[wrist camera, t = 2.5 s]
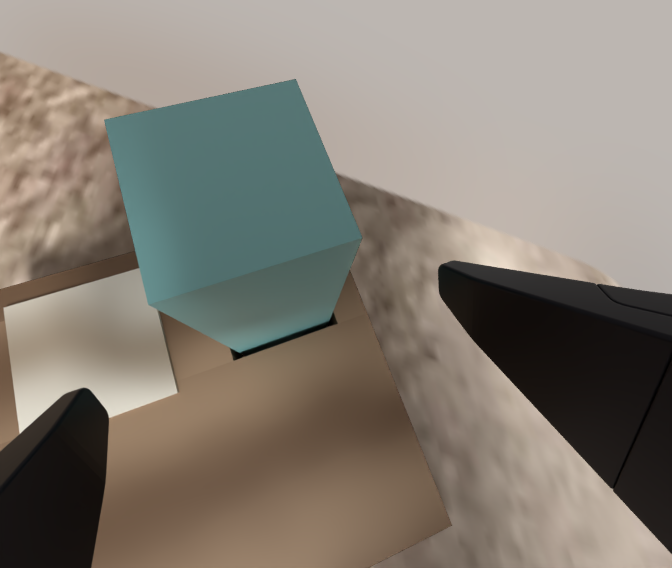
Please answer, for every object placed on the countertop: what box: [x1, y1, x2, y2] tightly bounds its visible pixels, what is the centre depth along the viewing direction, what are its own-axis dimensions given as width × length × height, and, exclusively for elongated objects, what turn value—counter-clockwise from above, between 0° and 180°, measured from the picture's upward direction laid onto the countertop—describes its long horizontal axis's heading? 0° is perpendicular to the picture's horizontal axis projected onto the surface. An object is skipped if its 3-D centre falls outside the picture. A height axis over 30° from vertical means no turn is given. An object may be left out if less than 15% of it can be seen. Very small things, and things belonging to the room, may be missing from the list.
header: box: [0, 251, 452, 568], centre depth 16 cm, size 16×16×3 cm
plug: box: [104, 79, 362, 356], centre depth 13 cm, size 4×4×12 cm
